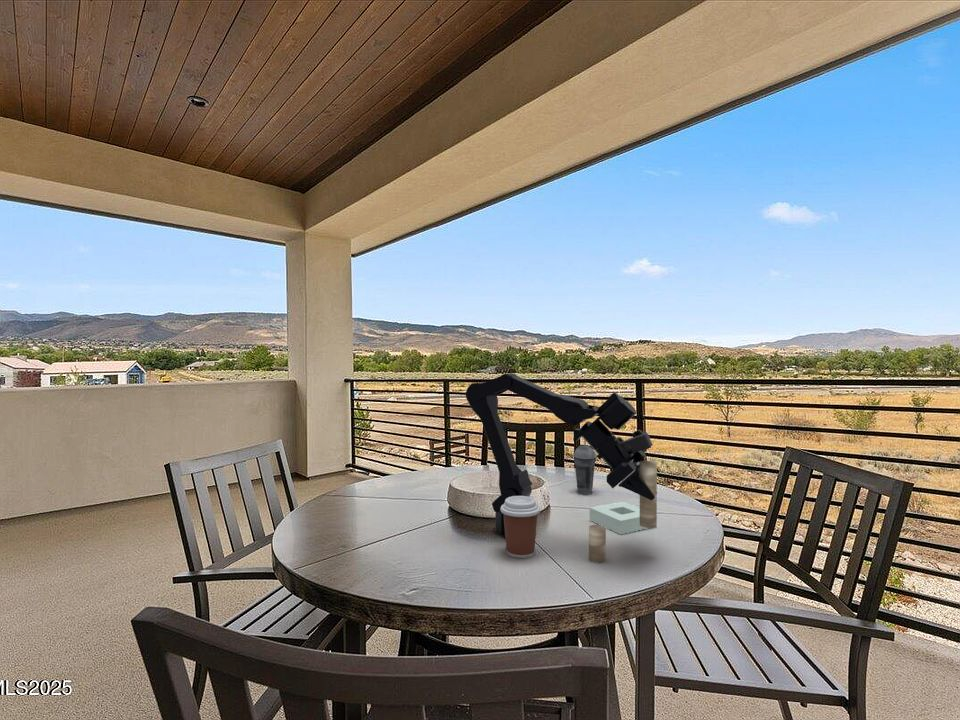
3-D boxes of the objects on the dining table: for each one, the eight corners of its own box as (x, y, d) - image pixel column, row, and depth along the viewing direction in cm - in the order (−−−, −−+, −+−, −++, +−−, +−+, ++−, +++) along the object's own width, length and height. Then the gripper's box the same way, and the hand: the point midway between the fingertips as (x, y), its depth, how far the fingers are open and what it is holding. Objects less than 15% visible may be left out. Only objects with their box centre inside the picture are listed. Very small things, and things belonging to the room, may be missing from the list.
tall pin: (648, 529, 108) (648, 465, 108) (636, 524, 111) (636, 461, 111) (660, 526, 110) (660, 463, 110) (647, 521, 113) (648, 460, 113)
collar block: (620, 534, 124) (620, 520, 124) (589, 520, 135) (589, 507, 134) (656, 527, 129) (656, 513, 129) (623, 514, 140) (623, 501, 140)
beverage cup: (594, 490, 165) (594, 430, 164) (597, 496, 157) (597, 433, 157) (572, 489, 165) (572, 429, 165) (574, 495, 158) (574, 433, 158)
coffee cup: (493, 548, 115) (493, 497, 115) (528, 542, 119) (527, 492, 119) (512, 563, 107) (512, 508, 107) (548, 556, 111) (548, 502, 111)
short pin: (596, 563, 107) (596, 531, 107) (585, 557, 110) (585, 526, 110) (609, 560, 108) (609, 528, 108) (598, 554, 111) (598, 523, 111)
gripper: (622, 425, 104) (678, 483, 99) (636, 415, 120) (685, 465, 116) (584, 459, 107) (637, 517, 102) (603, 445, 124) (650, 494, 119)
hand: (654, 496), depth 110 cm, fingers closed on tall pin, 4 cm apart
